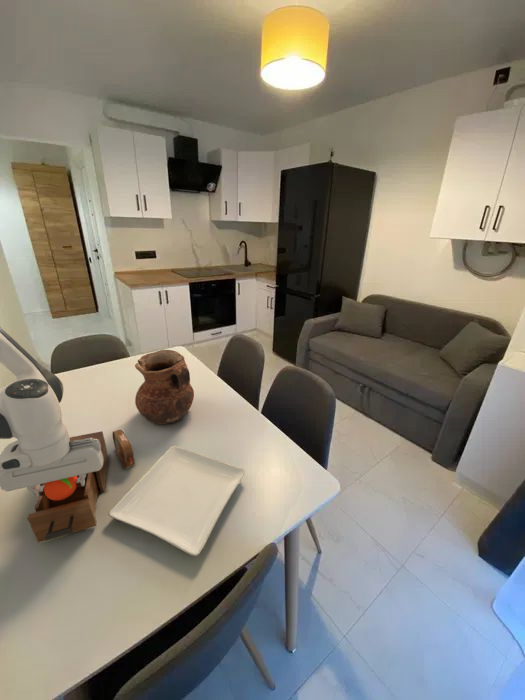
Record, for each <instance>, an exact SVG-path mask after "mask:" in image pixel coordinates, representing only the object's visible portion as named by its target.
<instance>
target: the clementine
mask: <svg viewBox="0 0 525 700" xmlns="http://www.w3.org/2000/svg"><path fill="white" fill-rule="evenodd" d="M76 481H77V476H73V477H69V478H65V479H60V480H56V481H52V482H47V483H45V485H44V492H45V495H46V496H47V497H48V498H49V499H51V500H63V499H66V498H68V497H69V496H70V495H71V494H73V492H74V491H75V490H76V488H77V485H76Z"/></svg>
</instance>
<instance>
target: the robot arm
mask: <svg viewBox="0 0 525 700" xmlns="http://www.w3.org/2000/svg"><path fill="white" fill-rule="evenodd" d="M0 364H2V365H3V366H4V367H5V368H6V369H7V370H8V371H9V372H11V374H13V375H14V376H15V377H16V379H15V380H14V381H12V382H9V383H8V384H6V385H4V386H1V387H0V440H9V439H12V438H14V439H16V440H15V441H13V442H10V443H8V444H7V445H6V446H5V447H4V448H3V450H2V451H1V452H0V489H1V490H2V491H4V492H12V491H16V490H22V489H25V488H26V489H27V490H28V491H29V492H32V493H34V494H35V495H36V497H37V498H38V497H40V496H44V495H45V492H44V486H40V484H43V483H47V482H52V481H56V480H60V479H65V478H69V477H73V476H78V475H79V477H78V478H77V481H76V485H77V487H82V486H84V485H85V477H86V474H87V473H91V472H95V471H99V470H100V469H101V468H102V467H103V463H104V457H103V454H102V451H101V444H100V441H99V440H97V439H92V438H86V439H81V440H74V441H70V437H71V436H70V435H69V431H68V427H67V425H66V424H65V423H64V422H63V411H62V408H61V407H62V406H61V404H60V403H61V402H62V399H63V396H64V384H63V382H62V381H61V379H60V378H59V377H58V376H57V375H56V374H55V373H53V372H52V371H50V370H49V369H47V368H46V367H44V366H43V365H41V363H39V361H37V360H36V359H35V357H33V356H32V355H31V354H30V353H29V352H28V351H26V350H25V348H24V347H22V345H20V343H18V342H17V341H16V340H15V339H14V338H13V337H12V336H11V335H10V334H9V333H7V331H5V330H4V329H3V328H2V327H1V326H0ZM92 440H93V441H92Z"/></svg>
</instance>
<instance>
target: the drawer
mask: <svg viewBox="0 0 525 700" xmlns="http://www.w3.org/2000/svg"><path fill="white" fill-rule="evenodd" d="M78 477H79V475H78V476H77V478H78ZM44 485H45V483H43V486H44ZM98 487H99V484H98V480H97V476H96V473H95V472H91V473H87V474H86V477H85V485H84V486H82V487H77V488H76V490H75V491H74V492H73V494H71V495H70V496H69V497H68V498H66V499H63V500H51V499H49V498H48V497H47V496H46V495H44V496H40V497H37V500H36V503H35V506H34V512H30V513H28V515H27V518H26V519H27V521H28V523H29V526H30V528H31V531H32V532H33V535H34V537H35V539H36V541H37V543H41V542H46V541H50V540H53V539H57V538H61V537H63V536H67V535H70V534H73V533H77V532H79V531H83V530H87V529H90V528H93V527H97V521H98V520H97V517H96V515H95V513H96V507H97V500H98V494H99V493H98Z"/></svg>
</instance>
